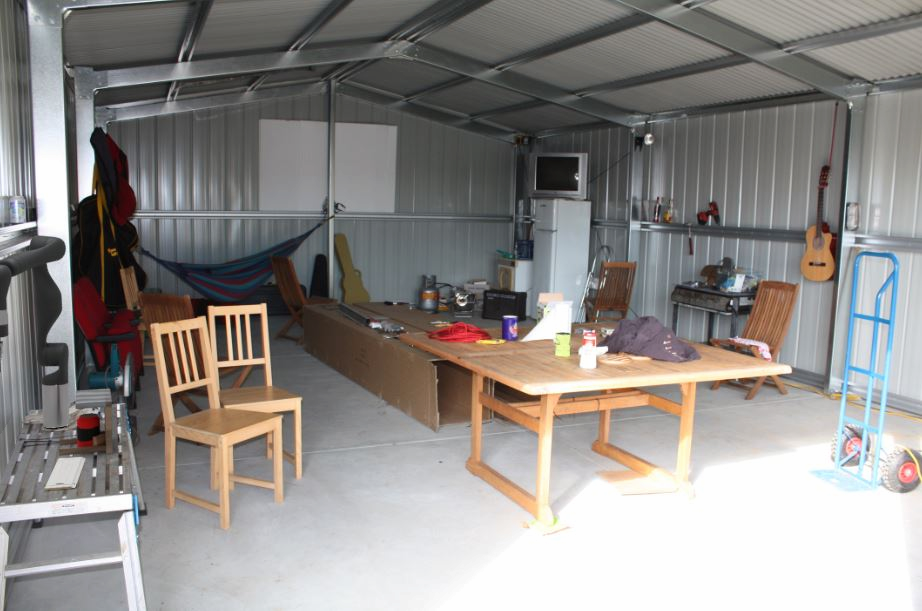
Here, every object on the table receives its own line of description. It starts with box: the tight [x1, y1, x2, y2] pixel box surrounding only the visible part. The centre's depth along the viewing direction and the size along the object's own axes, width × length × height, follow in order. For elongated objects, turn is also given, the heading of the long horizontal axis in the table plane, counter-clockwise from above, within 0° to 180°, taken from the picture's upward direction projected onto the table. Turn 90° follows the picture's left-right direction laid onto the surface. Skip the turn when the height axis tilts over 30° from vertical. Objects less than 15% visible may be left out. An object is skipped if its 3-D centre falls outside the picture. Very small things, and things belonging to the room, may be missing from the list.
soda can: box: [76, 412, 101, 448], centre depth 282 cm, size 8×8×12 cm
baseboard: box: [43, 456, 87, 492], centre depth 255 cm, size 30×3×10 cm
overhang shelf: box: [58, 388, 113, 456], centre depth 281 cm, size 20×17×19 cm
